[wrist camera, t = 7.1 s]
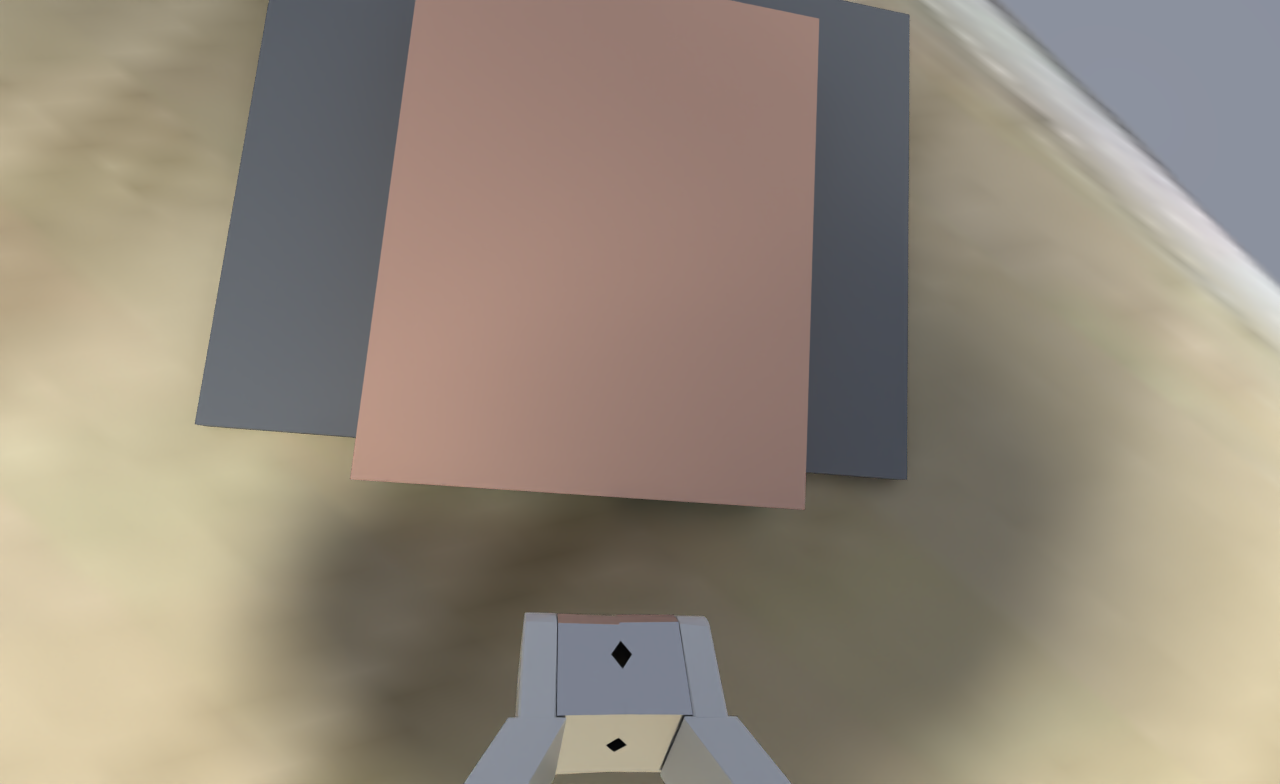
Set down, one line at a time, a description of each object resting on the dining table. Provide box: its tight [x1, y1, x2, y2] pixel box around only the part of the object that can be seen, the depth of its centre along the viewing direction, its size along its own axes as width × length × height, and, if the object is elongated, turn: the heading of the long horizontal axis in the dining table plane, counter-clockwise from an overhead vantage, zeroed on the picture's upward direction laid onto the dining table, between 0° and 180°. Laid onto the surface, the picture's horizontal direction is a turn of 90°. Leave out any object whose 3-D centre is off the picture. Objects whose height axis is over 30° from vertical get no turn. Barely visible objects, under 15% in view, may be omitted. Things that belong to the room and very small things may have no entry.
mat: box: [195, 0, 909, 480], centre depth 19 cm, size 16×20×1 cm
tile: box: [350, 0, 819, 510], centre depth 18 cm, size 2×11×14 cm
